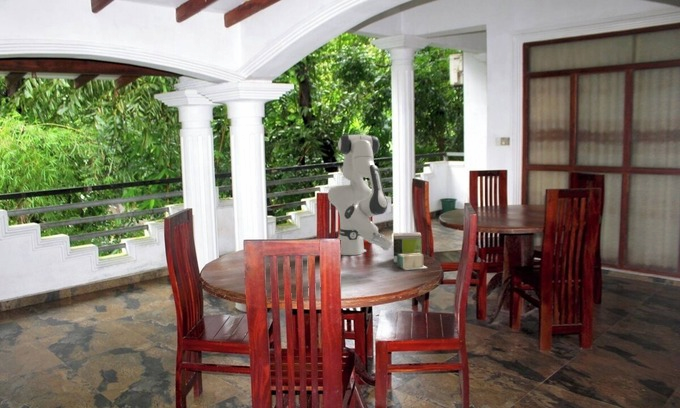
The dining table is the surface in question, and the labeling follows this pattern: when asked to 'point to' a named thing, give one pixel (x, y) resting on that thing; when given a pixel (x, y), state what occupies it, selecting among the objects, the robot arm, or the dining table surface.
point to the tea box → (407, 243)
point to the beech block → (410, 260)
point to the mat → (415, 268)
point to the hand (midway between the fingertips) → (386, 249)
